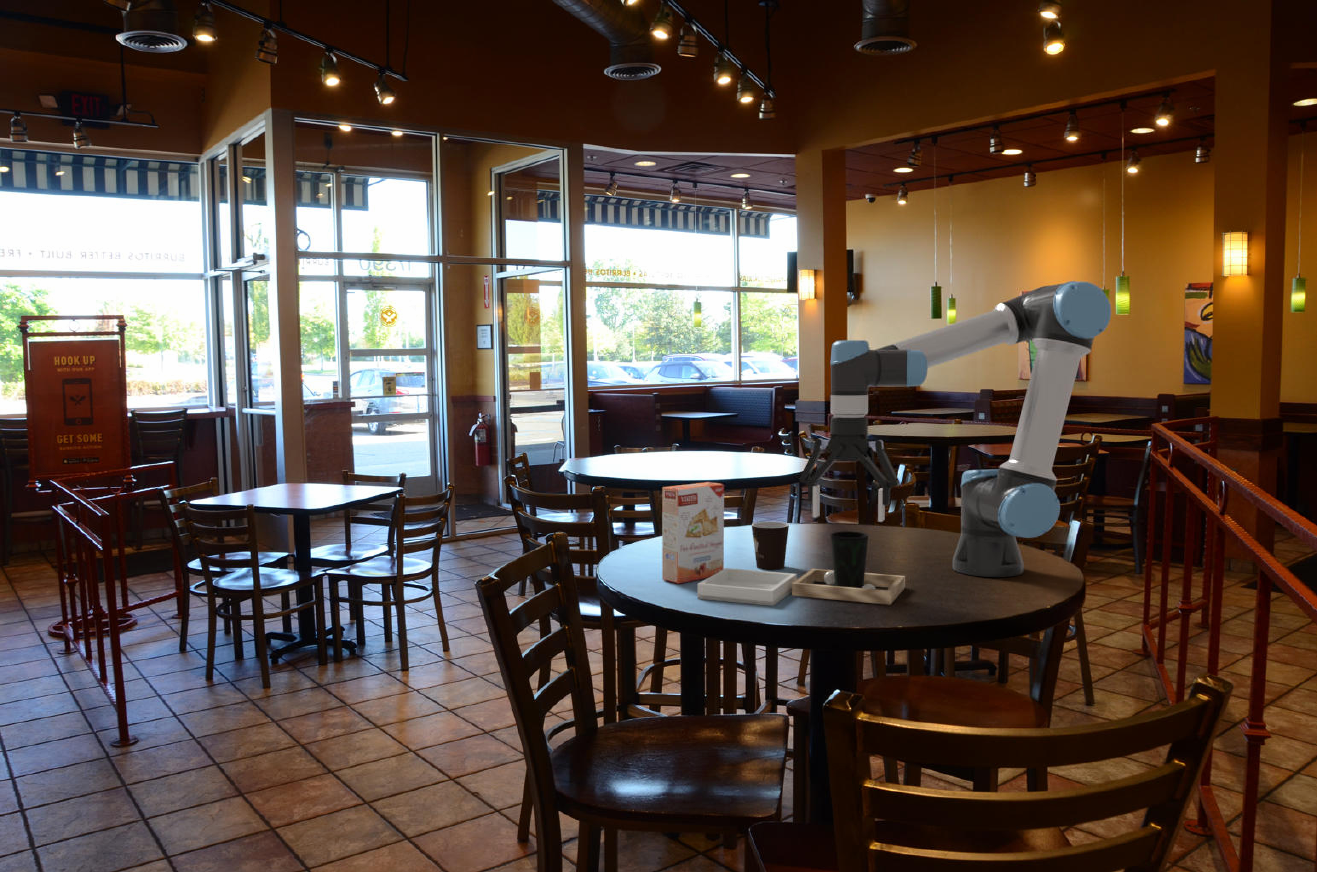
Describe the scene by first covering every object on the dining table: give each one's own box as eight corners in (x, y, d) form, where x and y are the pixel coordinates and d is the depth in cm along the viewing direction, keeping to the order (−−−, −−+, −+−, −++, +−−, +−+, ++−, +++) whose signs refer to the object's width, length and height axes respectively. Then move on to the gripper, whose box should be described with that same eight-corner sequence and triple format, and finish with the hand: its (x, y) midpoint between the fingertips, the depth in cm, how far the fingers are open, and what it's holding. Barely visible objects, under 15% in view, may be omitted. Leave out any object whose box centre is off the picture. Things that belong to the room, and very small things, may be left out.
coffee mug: (787, 571, 217) (787, 528, 216) (750, 570, 219) (749, 527, 218) (791, 561, 228) (790, 519, 228) (755, 560, 230) (754, 519, 229)
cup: (841, 585, 203) (841, 529, 202) (874, 590, 198) (874, 533, 197) (823, 592, 197) (823, 535, 196) (857, 598, 192) (857, 539, 191)
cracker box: (679, 585, 206) (678, 489, 204) (661, 580, 210) (660, 486, 208) (726, 575, 215) (725, 483, 213) (707, 570, 219) (706, 480, 218)
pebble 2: (877, 597, 192) (877, 582, 192) (874, 601, 189) (874, 586, 189) (862, 596, 193) (862, 581, 193) (859, 599, 191) (859, 584, 191)
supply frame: (904, 587, 200) (905, 576, 200) (890, 604, 186) (890, 592, 186) (812, 579, 208) (812, 568, 208) (792, 595, 195) (792, 583, 195)
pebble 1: (839, 584, 204) (839, 570, 204) (836, 587, 201) (836, 573, 201) (825, 582, 205) (826, 569, 205) (822, 585, 203) (822, 572, 203)
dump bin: (796, 587, 201) (796, 574, 201) (772, 605, 187) (772, 590, 187) (725, 581, 208) (725, 568, 208) (697, 598, 194) (697, 583, 193)
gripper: (914, 416, 193) (913, 519, 194) (795, 413, 203) (795, 512, 205) (907, 418, 186) (906, 525, 188) (785, 415, 197) (784, 517, 198)
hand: (848, 518), depth 196 cm, fingers open, 13 cm apart
